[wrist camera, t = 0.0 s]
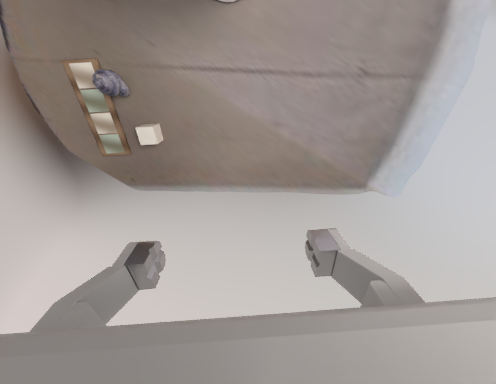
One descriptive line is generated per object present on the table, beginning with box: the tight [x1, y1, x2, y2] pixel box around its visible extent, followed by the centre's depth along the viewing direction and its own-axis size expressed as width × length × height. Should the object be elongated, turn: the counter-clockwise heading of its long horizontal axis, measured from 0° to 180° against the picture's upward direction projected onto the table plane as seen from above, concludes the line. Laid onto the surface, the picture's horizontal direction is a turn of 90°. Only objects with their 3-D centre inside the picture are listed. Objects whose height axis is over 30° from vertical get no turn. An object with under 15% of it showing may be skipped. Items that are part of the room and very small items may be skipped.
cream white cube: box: [135, 124, 163, 145], centre depth 52 cm, size 4×4×4 cm
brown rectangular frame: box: [62, 58, 131, 156], centre depth 50 cm, size 23×8×1 cm, turn 3°
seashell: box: [92, 69, 129, 97], centre depth 44 cm, size 5×5×10 cm
